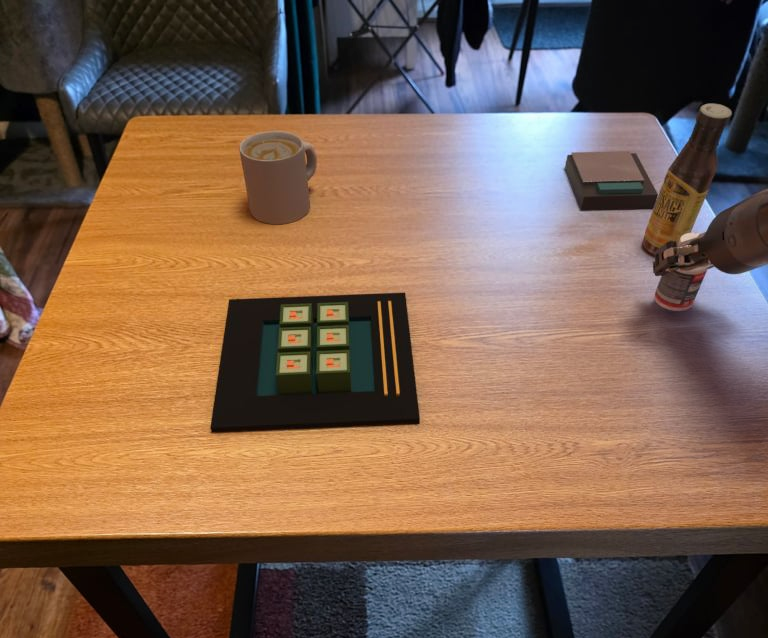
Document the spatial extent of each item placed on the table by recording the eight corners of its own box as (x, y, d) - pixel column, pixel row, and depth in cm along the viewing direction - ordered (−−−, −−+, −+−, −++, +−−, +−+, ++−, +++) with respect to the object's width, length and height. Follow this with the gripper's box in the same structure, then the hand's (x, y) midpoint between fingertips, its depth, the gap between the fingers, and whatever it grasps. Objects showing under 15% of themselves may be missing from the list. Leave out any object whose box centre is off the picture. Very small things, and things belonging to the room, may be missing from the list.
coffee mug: (269, 231, 105) (259, 167, 97) (239, 205, 110) (227, 142, 102) (339, 204, 110) (334, 141, 102) (307, 180, 114) (301, 118, 106)
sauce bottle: (632, 242, 102) (677, 101, 86) (666, 233, 103) (717, 94, 87) (657, 264, 98) (709, 122, 82) (692, 255, 100) (750, 114, 84)
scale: (632, 167, 116) (637, 148, 114) (653, 208, 108) (659, 189, 105) (564, 168, 116) (568, 149, 113) (580, 210, 108) (585, 191, 105)
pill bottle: (684, 316, 89) (708, 257, 82) (647, 303, 91) (668, 244, 84) (698, 297, 92) (723, 238, 84) (662, 284, 93) (684, 225, 86)
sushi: (419, 423, 79) (420, 401, 76) (211, 432, 79) (204, 410, 76) (405, 297, 94) (405, 274, 91) (230, 304, 94) (225, 281, 91)
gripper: (820, 188, 72) (726, 231, 89) (695, 201, 71) (624, 242, 88) (821, 259, 73) (728, 289, 90) (699, 272, 72) (628, 300, 89)
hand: (677, 265), depth 89 cm, fingers closed on pill bottle, 5 cm apart
